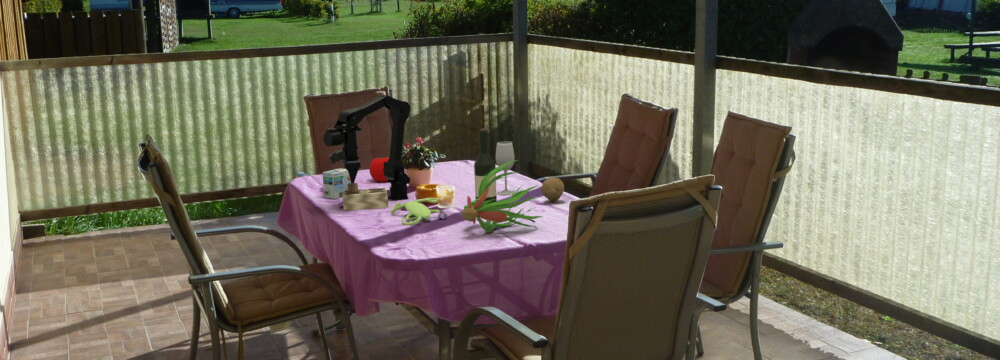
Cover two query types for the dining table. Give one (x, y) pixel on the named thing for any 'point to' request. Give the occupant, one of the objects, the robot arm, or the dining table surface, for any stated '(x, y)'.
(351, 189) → the peg
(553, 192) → the coconut
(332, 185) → the light bulb box
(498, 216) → the decorative plant
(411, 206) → the figurine
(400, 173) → the robot arm
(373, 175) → the tomato
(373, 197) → the birch block
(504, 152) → the wineglass
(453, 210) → the dining table surface
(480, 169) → the wine bottle
